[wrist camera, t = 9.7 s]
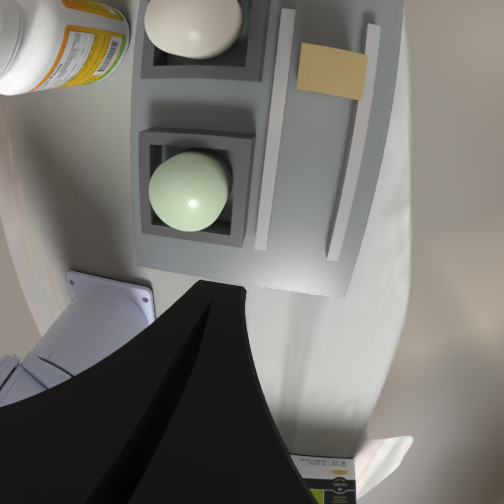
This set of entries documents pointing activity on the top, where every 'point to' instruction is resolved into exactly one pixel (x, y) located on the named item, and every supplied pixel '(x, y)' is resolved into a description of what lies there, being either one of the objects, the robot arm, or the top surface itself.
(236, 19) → the white button
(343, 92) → the tan wooden block
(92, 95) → the top surface
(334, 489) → the tea box
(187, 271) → the panel
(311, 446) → the top surface
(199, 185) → the sage button
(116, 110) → the top surface
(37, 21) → the supplement bottle
